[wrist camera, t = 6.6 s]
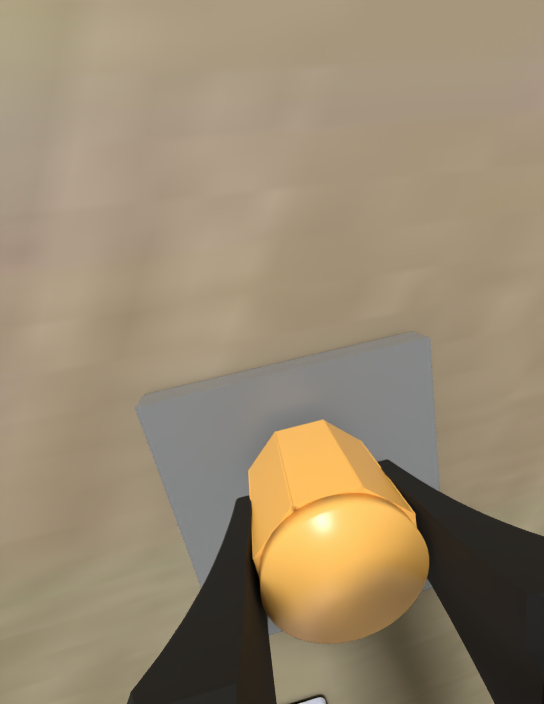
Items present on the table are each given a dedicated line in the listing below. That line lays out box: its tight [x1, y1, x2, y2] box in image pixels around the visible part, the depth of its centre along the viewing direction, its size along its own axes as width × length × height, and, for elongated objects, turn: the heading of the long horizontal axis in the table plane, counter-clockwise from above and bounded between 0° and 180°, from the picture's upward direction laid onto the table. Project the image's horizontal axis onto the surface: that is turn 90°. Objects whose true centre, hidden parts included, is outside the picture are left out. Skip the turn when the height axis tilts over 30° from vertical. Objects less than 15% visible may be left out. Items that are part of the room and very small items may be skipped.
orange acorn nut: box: [248, 419, 429, 644], centre depth 12 cm, size 5×5×5 cm
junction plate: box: [135, 332, 440, 635], centre depth 15 cm, size 16×14×4 cm
